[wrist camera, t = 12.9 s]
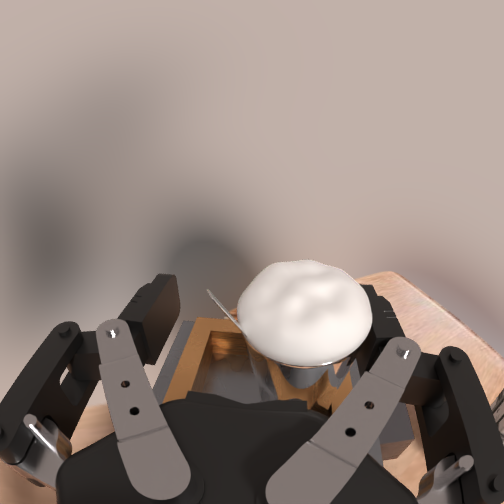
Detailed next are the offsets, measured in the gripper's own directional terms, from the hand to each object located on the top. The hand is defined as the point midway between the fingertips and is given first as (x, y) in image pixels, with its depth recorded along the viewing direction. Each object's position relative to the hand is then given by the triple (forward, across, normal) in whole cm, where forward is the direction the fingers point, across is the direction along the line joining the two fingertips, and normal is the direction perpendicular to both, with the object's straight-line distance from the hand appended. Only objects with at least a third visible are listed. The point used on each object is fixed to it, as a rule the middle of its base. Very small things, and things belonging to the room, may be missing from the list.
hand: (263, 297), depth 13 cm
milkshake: (-2, -2, +7) cm, 7 cm away
